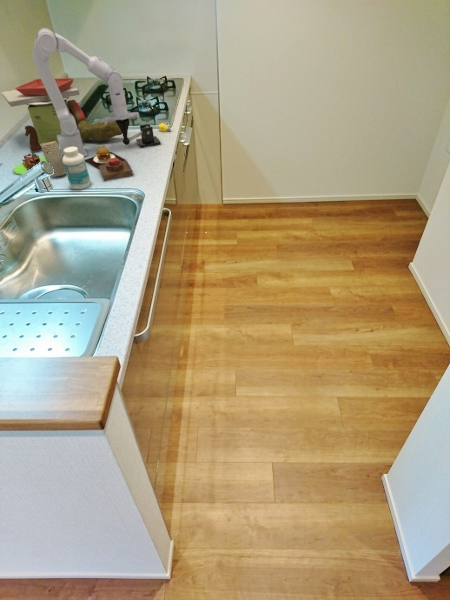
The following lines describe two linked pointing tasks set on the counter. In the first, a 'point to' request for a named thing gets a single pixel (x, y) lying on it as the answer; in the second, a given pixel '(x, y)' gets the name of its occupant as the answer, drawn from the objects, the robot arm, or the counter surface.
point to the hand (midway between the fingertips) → (125, 137)
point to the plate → (44, 102)
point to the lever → (127, 140)
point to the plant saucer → (38, 87)
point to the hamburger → (102, 157)
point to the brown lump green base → (28, 163)
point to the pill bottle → (76, 168)
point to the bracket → (147, 137)
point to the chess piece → (33, 138)
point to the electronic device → (34, 96)
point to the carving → (54, 157)
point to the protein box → (45, 122)
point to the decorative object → (76, 111)
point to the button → (113, 161)
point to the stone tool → (98, 130)
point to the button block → (115, 170)
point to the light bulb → (163, 127)
